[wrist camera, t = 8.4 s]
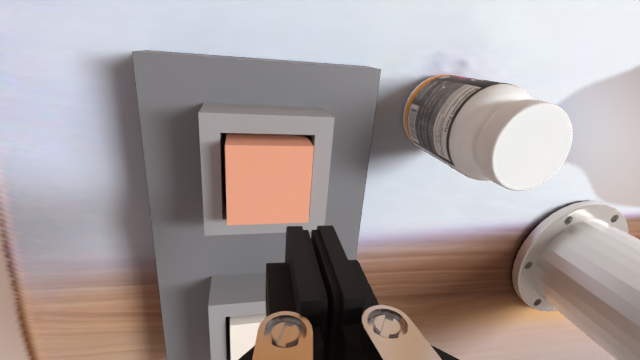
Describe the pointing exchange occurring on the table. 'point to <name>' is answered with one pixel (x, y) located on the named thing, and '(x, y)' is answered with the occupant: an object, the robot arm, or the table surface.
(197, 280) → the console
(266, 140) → the terracotta key
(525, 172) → the pill bottle
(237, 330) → the pale key
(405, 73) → the table surface
